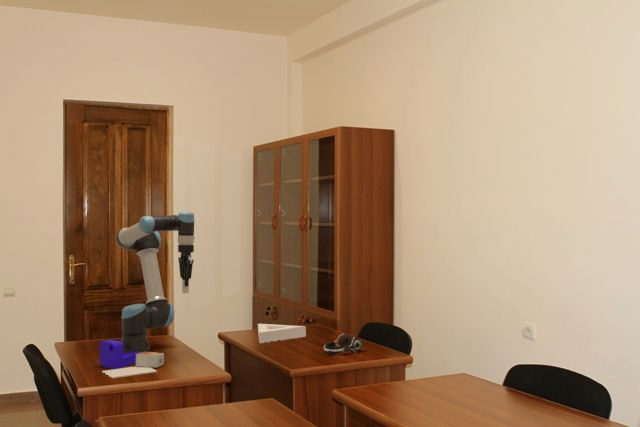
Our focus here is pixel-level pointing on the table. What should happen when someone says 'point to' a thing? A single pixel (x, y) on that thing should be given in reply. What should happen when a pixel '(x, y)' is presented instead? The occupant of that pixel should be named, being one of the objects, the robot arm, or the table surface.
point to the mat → (128, 371)
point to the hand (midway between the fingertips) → (185, 292)
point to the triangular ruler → (279, 332)
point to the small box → (150, 359)
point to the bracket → (115, 355)
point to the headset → (343, 345)
